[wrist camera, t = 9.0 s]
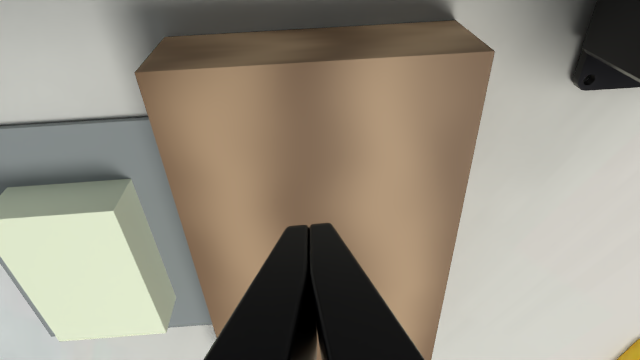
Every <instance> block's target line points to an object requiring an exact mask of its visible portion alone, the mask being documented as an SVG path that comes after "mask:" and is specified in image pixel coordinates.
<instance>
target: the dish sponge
mask: <svg viewBox="0 0 640 360" xmlns="http://www.w3.org/2000/svg"><path fill="white" fill-rule="evenodd" d="M617 360H640V339H638V340H637V341H636V342H635V343H634V344H633V345H632V346H631V347H630V348H629V349H628V350H627V351H625V352H624V353H623V354H622V355H621V356H620V357H619V358H618V359H617Z"/></svg>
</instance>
